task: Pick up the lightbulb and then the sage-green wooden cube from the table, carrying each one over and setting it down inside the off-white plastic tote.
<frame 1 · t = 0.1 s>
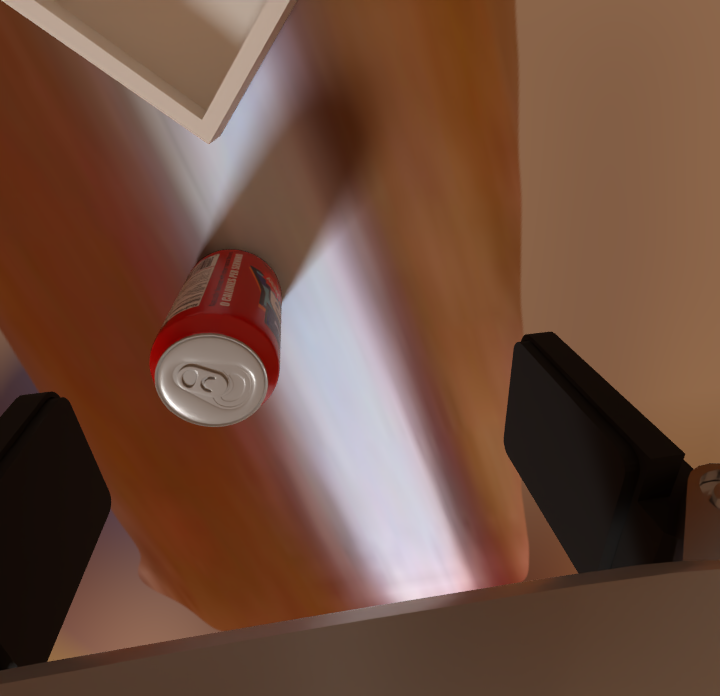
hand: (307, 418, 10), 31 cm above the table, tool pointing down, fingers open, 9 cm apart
soda can: (236, 289, 41), on the table
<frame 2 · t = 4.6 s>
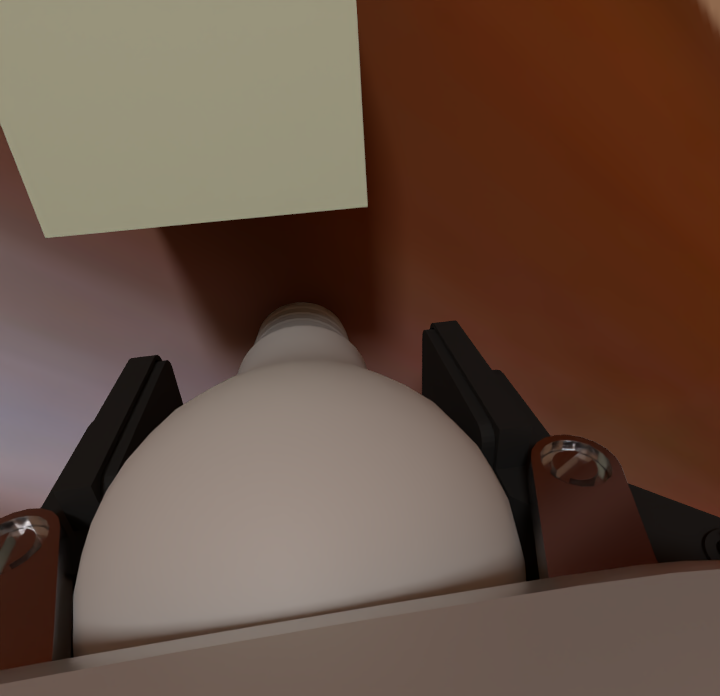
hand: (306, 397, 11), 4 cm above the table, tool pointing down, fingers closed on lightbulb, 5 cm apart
sage cube: (218, 55, 11), on the table
lightbulb: (301, 327, 14), on the table, touching gripper
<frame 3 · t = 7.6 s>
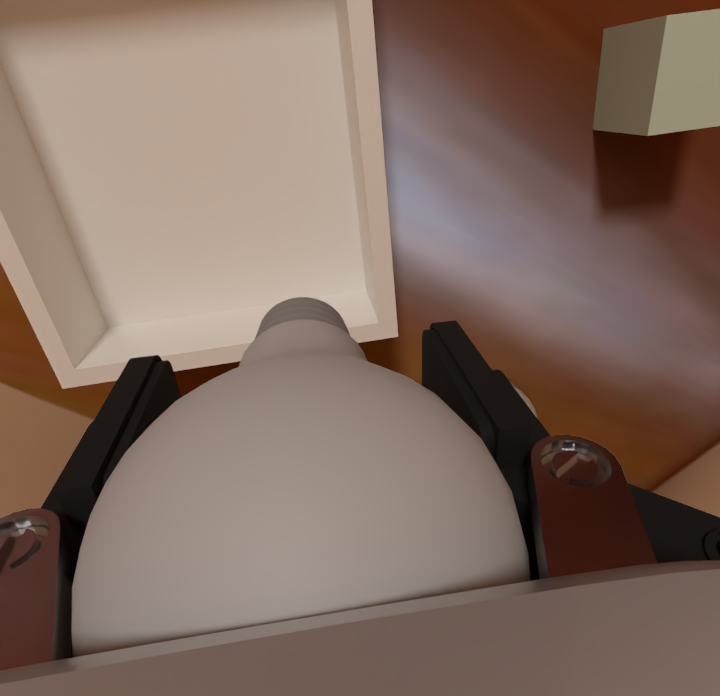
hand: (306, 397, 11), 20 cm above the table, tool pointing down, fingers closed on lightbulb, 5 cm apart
sage cube: (639, 75, 27), on the table
lightbulb: (302, 323, 14), point 16 cm above the table, touching gripper
tote: (198, 131, 26), on the table
when the fingers open (6 cm above the table, at t = 11.0 s): lightbulb drops 2 cm, resting on tote.
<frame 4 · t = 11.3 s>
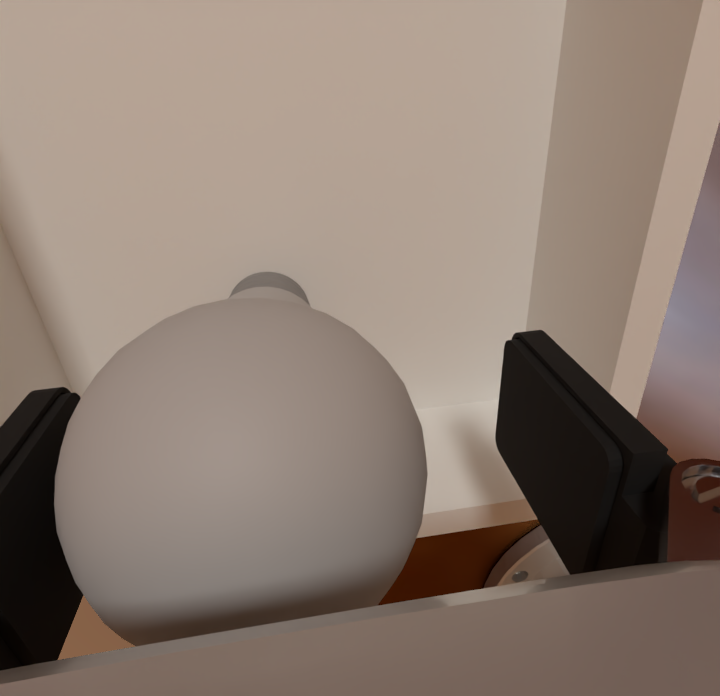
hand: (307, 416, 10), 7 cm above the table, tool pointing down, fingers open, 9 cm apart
lightbulb: (270, 297, 16), point 1 cm above the table, touching tote
tote: (279, 135, 14), on the table
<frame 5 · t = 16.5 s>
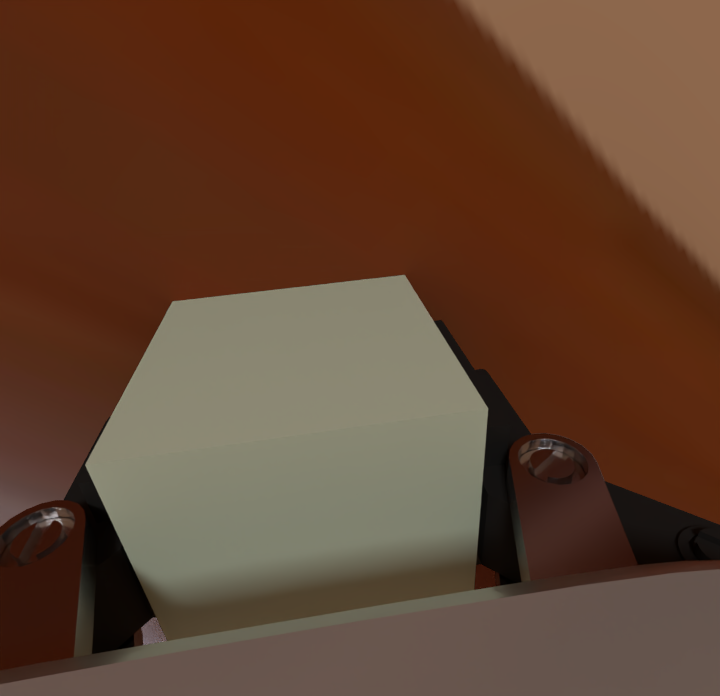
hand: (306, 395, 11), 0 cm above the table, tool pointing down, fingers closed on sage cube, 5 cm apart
sage cube: (305, 384, 11), on the table, touching gripper
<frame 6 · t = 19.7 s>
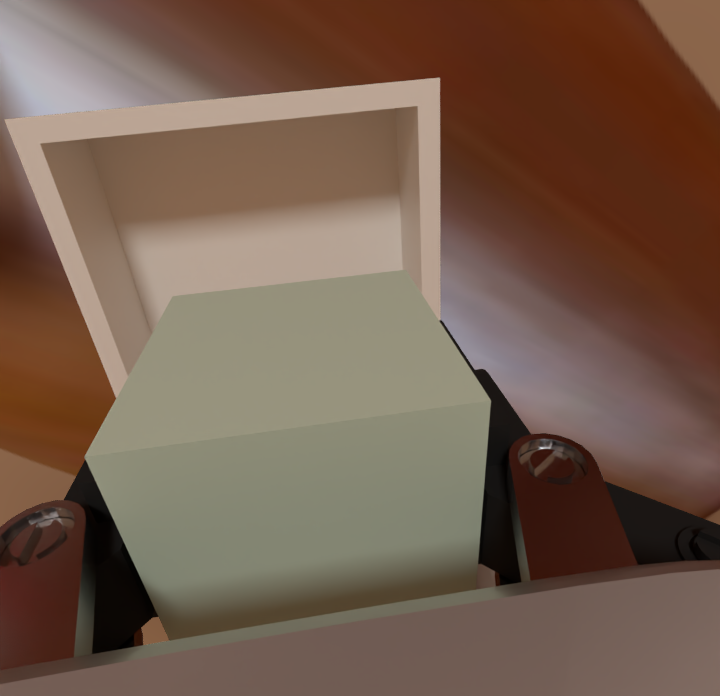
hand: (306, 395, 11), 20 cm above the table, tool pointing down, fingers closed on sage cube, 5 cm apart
sage cube: (306, 380, 11), point 19 cm above the table, touching gripper
tote: (276, 290, 30), on the table
when the fingers open (3 cm above the table, at t = 23.5 s): sage cube drops 1 cm, resting on tote.
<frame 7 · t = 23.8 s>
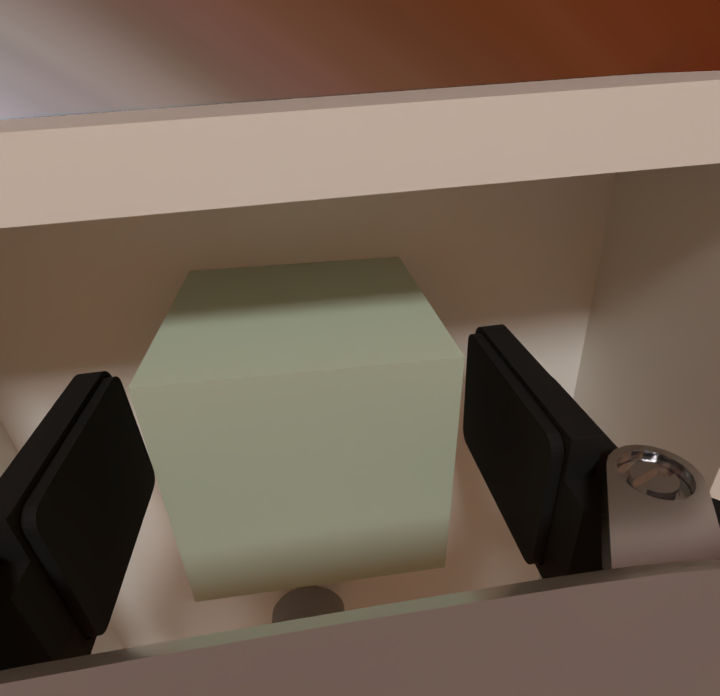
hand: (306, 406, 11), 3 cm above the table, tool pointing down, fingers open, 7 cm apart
sage cube: (305, 353, 13), point 1 cm above the table, touching tote
lightbulb: (307, 584, 17), point 1 cm above the table, touching tote
tote: (320, 468, 16), on the table
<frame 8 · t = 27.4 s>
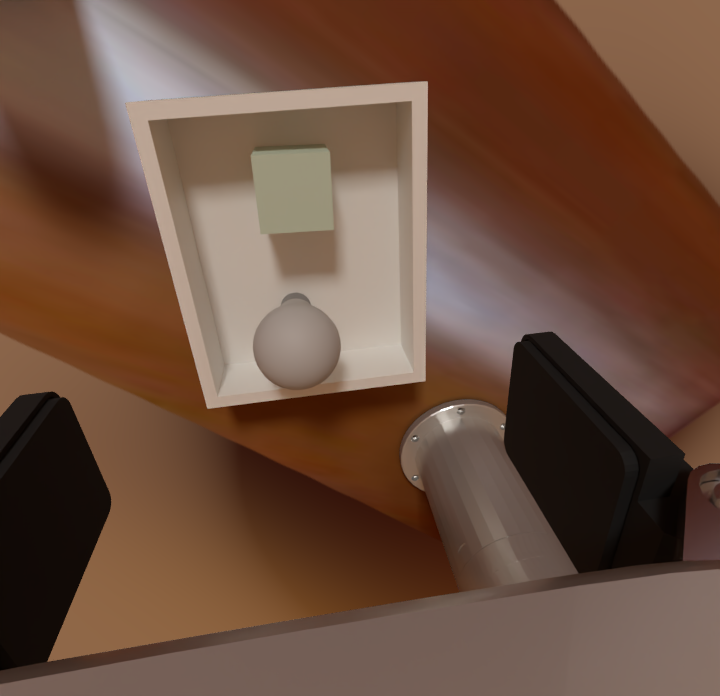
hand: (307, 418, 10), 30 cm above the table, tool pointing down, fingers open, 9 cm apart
sage cube: (293, 181, 36), point 1 cm above the table, touching tote
lightbulb: (295, 301, 41), point 1 cm above the table, touching tote
tote: (300, 243, 39), on the table
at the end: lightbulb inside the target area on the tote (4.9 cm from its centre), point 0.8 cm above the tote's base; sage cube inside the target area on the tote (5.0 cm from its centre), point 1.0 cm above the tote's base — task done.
